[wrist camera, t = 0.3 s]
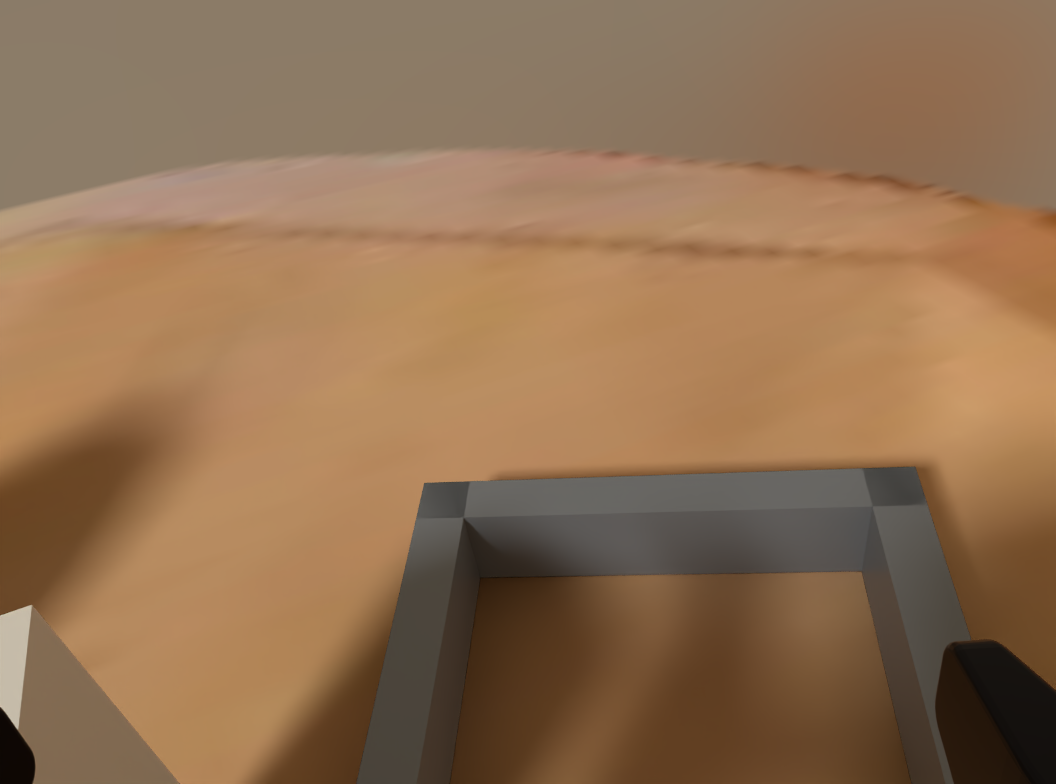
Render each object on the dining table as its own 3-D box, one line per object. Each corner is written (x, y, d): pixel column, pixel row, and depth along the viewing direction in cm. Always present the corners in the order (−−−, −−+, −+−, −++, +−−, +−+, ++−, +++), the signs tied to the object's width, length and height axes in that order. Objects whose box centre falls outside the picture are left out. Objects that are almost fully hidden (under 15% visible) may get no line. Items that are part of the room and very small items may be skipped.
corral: (1031, 983, 20) (1066, 933, 18) (363, 951, 22) (328, 904, 20) (902, 531, 29) (915, 466, 27) (442, 542, 31) (424, 483, 29)
